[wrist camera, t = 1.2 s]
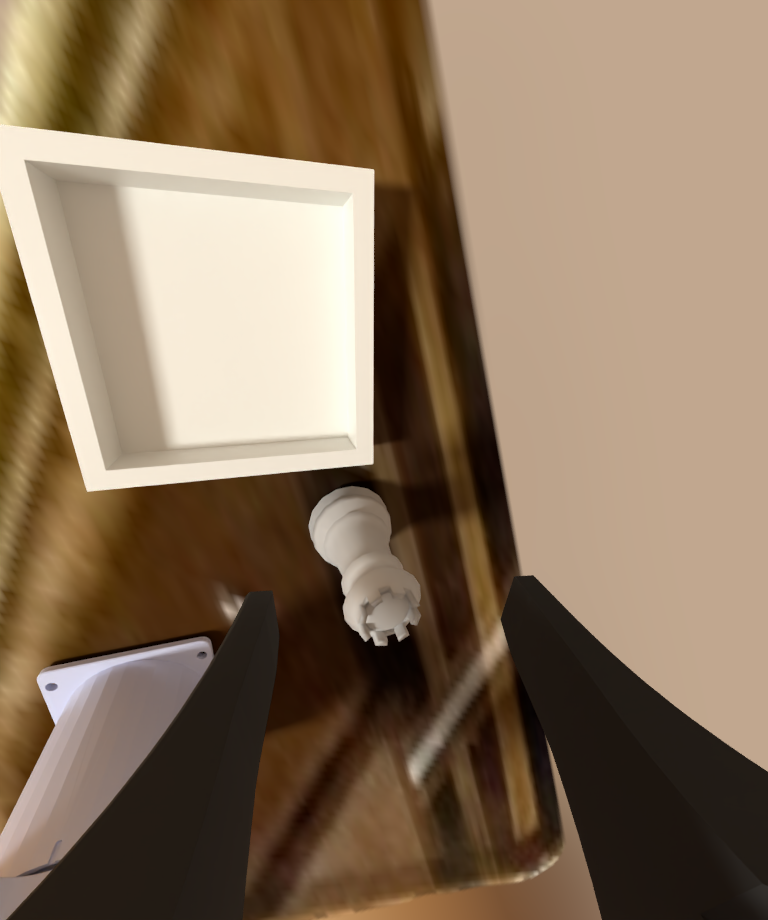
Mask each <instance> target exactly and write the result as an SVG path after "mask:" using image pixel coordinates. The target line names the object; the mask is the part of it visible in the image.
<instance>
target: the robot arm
mask: <svg viewBox="0 0 768 920" xmlns="http://www.w3.org/2000/svg"><path fill="white" fill-rule="evenodd" d="M501 622H502V626H503V629H504V633H505V636H506V640H507V643H508V646H509V649H510V652H511V655H512V658H513V660H514V662H515V665H516V667H517V670H518V672H519V674H520V677H521V679H522V681H523V684H524V686H525V688H526V691H527V693H528V695H529V698H530V700H531V702H532V705H533V707H534V709H535V712H536V714H537V716H538V719H539V721H540V723H541V726H542V728H543V730H544V733H545V735H546V738H547V740H548V743H549V745H550V748H551V751H552V753H553V756H554V759H555V762H556V765H557V768H558V771H559V774H560V777H561V781H562V784H563V786H564V789H565V793H566V796H567V799H568V802H569V805H570V809H571V812H572V815H573V818H574V822H575V825H576V828H577V831H578V834H579V838H580V841H581V845H582V848H583V852H584V855H585V859H586V862H587V866H588V869H589V873H590V876H591V879H592V883H593V887H594V891H595V895H596V898H597V902H598V906H599V910H600V914H601V918H602V920H768V772H767V771H766V770H764V769H763V768H761V767H760V766H758V765H757V764H755V763H753V762H752V761H750V760H749V759H747V758H746V757H745V756H743V755H742V754H740V753H739V752H737V751H736V750H734V749H733V748H731V747H730V746H729V745H727V744H726V743H724V742H723V741H721V740H720V739H719V738H717V737H716V736H715V735H713V734H712V733H710V732H709V731H708V730H706V729H705V728H704V727H702V726H701V725H699V724H698V723H697V722H695V721H694V720H692V719H691V718H690V717H688V716H687V715H686V714H684V713H683V712H682V711H681V710H679V709H678V708H677V707H675V706H674V705H673V704H672V703H670V702H669V701H668V700H666V699H665V698H664V697H663V696H661V695H660V694H659V693H658V692H657V691H655V690H654V689H653V688H652V687H650V686H649V685H648V684H646V683H645V682H644V681H643V680H642V679H641V678H640V677H638V676H637V675H636V674H635V673H633V671H631V670H630V669H629V668H628V667H627V666H626V665H625V664H623V663H622V662H621V661H620V660H619V659H618V658H617V657H616V656H614V655H613V654H612V653H611V652H610V651H609V650H608V649H607V648H606V647H605V646H604V645H603V644H601V643H600V642H599V641H598V640H597V639H596V638H595V637H594V636H593V635H592V634H591V633H590V632H589V631H588V630H587V629H586V628H585V627H584V626H583V625H582V624H581V623H580V622H579V621H577V619H576V618H575V617H574V616H573V615H572V614H571V613H570V612H569V611H568V610H567V609H566V608H565V607H564V606H563V605H562V604H561V603H560V602H559V601H558V600H557V599H556V598H555V597H554V596H553V595H552V594H551V593H550V592H549V591H548V590H547V589H546V588H545V587H544V586H543V585H542V584H541V583H540V582H539V581H538V580H537V579H536V578H535V577H534V576H533V575H532V576H515V577H514V579H513V582H512V585H511V588H510V592H509V595H508V598H507V601H506V604H505V607H504V610H503V614H502V617H501ZM278 647H279V629H278V623H277V617H276V610H275V604H274V598H273V592H272V591H259V592H250V593H248V594H247V595H246V597H245V600H244V602H243V604H242V606H241V608H240V610H239V612H238V614H237V616H236V618H235V620H234V622H233V624H232V626H231V628H230V629H229V631H228V633H227V635H226V637H225V639H224V640H223V642H222V644H221V646H220V647H219V649H218V651H217V652H216V654H215V656H214V654H213V649H212V643H211V640H210V639H209V638H208V637H196V638H191V639H186V640H181V641H176V642H171V643H166V644H161V645H156V646H151V647H146V648H141V649H136V650H131V651H126V652H121V653H116V654H111V655H105V656H100V657H95V658H90V659H85V660H80V661H75V662H70V663H65V664H60V665H55V666H50V667H47V668H44V669H43V670H42V671H41V672H40V674H39V675H38V677H37V682H38V685H39V687H40V690H41V692H42V694H43V697H44V699H45V702H46V704H47V706H48V709H49V711H50V713H51V716H52V718H53V721H54V723H55V725H56V726H55V728H54V730H53V732H52V734H51V736H50V738H49V740H48V742H47V744H46V746H45V748H44V750H43V752H42V754H41V756H40V758H39V760H38V762H37V764H36V766H35V768H34V770H33V772H32V774H31V776H30V778H29V780H28V782H27V784H26V786H25V788H24V790H23V792H22V794H21V796H20V798H19V800H18V802H17V804H16V806H15V808H14V810H13V812H12V814H11V816H10V818H9V820H8V822H7V824H6V826H5V828H4V830H3V832H2V834H1V836H0V920H242V918H243V907H244V896H245V885H246V875H247V865H248V855H249V845H250V835H251V825H252V816H253V807H254V798H255V789H256V781H257V775H258V768H259V762H260V757H261V752H262V746H263V741H264V736H265V730H266V725H267V720H268V715H269V709H270V704H271V699H272V693H273V688H274V682H275V677H276V670H277V659H278ZM199 652H206V653H199ZM51 683H55V684H51Z"/></svg>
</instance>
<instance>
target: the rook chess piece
mask: <svg viewBox="0 0 768 920" xmlns="http://www.w3.org/2000/svg"><path fill="white" fill-rule="evenodd" d="M309 530H310V535H311V539H312V541H313V542H314V547H315V549H316V550H317V551H318V552H319V554H320V555H321V556H322V557H323V559H324V560H325V561H327V562H329V563H331V564H332V565H334V566H336V567H338V569H339V570H340V572H341V574H342V576H343V579H342V582H341V584H342V590H343V594H344V595H345V596H346V599H345V602H344V605H343V612H344V618H345V621H346V622H347V623H348V624H349V626H350V627H351V628H352V629H353V630H355V631H357V632H359V634H360V636H361V637H362V638H363V639H364V640H365V642H366V641H367V640H368V639H369V638H371V637H373V640H374V643H375V646H387V642H388V639H387V637H386V636H388V635H391V634H394V633H395V634H396V636H397V638H398V641H399V642H400V641H401V640H403V639H404V638H406V637H407V636H409V633H408V630H407V628H406V625H407V624H408V623H409V622H410V623H411V624H412V625H418V622H419V619H420V617H421V614H420V612H419V611H418V609H417V607H418V606H420V604H419V601H420V598H421V594H420V585H419V583H418V582H417V580H416V579H415V577H414V576H413V575H412V574H410V573H408V572H406V571H404V570H403V566H402V564H401V563H400V561H399V560H398V558H397V557H395V556H393V555H391V552H390V548H389V545H388V544H389V540H390V535H391V521H390V515H389V513H388V511H387V509H386V506H385V504H384V503H383V501H382V500H381V498H380V496H379V495H377V494H375V493H374V492H372V491H371V490H369V489H367V488H362V487H355V486H350V487H345V488H341V489H336V490H334V491H333V492H331V493H330V494H328V495H326V496H325V497H323V498H322V499H321V500H320V502H319V503H318V504H317V506H316V507H315V508H314V510H313V511H312V514H311V518H310V522H309Z"/></svg>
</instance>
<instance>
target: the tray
mask: <svg viewBox="0 0 768 920" xmlns="http://www.w3.org/2000/svg"><path fill="white" fill-rule="evenodd" d="M0 191H1V194H2V198H3V201H4V205H5V208H6V212H7V215H8V219H9V222H10V226H11V229H12V232H13V236H14V239H15V243H16V246H17V250H18V253H19V257H20V260H21V264H22V267H23V271H24V274H25V278H26V281H27V285H28V288H29V292H30V295H31V298H32V302H33V305H34V309H35V312H36V316H37V319H38V323H39V326H40V330H41V333H42V337H43V340H44V344H45V347H46V351H47V354H48V358H49V361H50V364H51V368H52V371H53V375H54V378H55V382H56V385H57V389H58V392H59V396H60V399H61V403H62V406H63V410H64V413H65V417H66V420H67V423H68V427H69V430H70V434H71V437H72V441H73V444H74V448H75V451H76V455H77V458H78V462H79V465H80V469H81V472H82V476H83V479H84V483H85V486H86V489H87V491H98V490H108V489H119V488H129V487H139V486H150V485H160V484H171V483H181V482H191V481H202V480H212V479H223V478H233V477H244V476H254V475H264V474H275V473H285V472H296V471H306V470H316V469H327V468H337V467H348V466H358V465H368V464H373V376H374V169H366V168H357V167H349V166H341V165H332V164H324V163H316V162H308V161H299V160H291V159H283V158H274V157H266V156H258V155H250V154H241V153H233V152H225V151H217V150H208V149H200V148H192V147H183V146H175V145H167V144H159V143H150V142H142V141H134V140H126V139H117V138H109V137H101V136H92V135H84V134H76V133H68V132H59V131H51V130H43V129H34V128H26V127H18V126H10V125H1V124H0Z"/></svg>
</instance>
